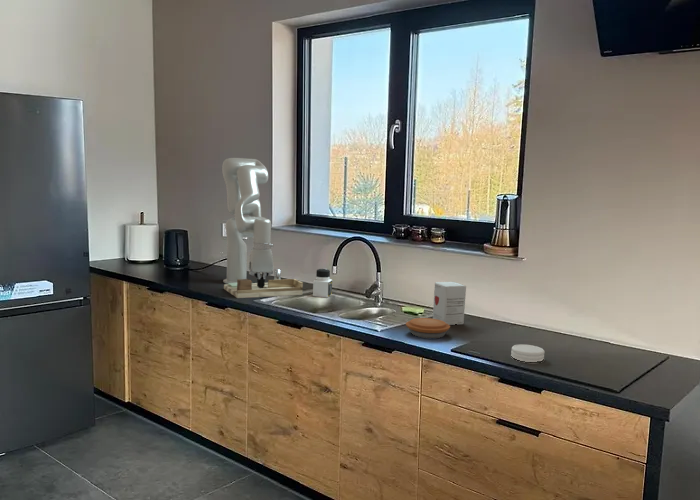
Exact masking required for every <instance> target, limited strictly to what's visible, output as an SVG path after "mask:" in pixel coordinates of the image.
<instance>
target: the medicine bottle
mask: <svg viewBox="0 0 700 500" xmlns="http://www.w3.org/2000/svg"><path fill="white" fill-rule="evenodd" d="M315 273H316V276H315V277H316V278H315V279H314V280H313V282H312V296H313V297H320V298H329V297H331V296H332V294H333V279H332V278H330V277H331V270H330V269H328V268H318V269H316V272H315Z"/></svg>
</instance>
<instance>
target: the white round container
mask: <svg viewBox="0 0 700 500" xmlns="http://www.w3.org/2000/svg"><path fill="white" fill-rule="evenodd" d="M510 353H511V354H510V357H511V356H512V357H513V358H515V359H517V360H520V361H525V362H537V361H542V360H543V359H544V360H545V350H544V349H543V347H539V346H537V345H532V344H514V345H513V346H512V347H511V351H510ZM512 357H511V358H512ZM513 358H512V359H513ZM517 360H516V361H517ZM520 361H519V362H520ZM525 362H524V363H525Z"/></svg>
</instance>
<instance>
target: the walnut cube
mask: <svg viewBox="0 0 700 500" xmlns="http://www.w3.org/2000/svg"><path fill="white" fill-rule="evenodd" d="M252 283H253V281H252V280H251V279H249V278H246V279H237V290H252Z"/></svg>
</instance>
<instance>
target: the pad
mask: <svg viewBox="0 0 700 500" xmlns="http://www.w3.org/2000/svg"><path fill="white" fill-rule="evenodd" d="M228 285H229V286H230V287H232V288H237V283H228Z"/></svg>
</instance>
